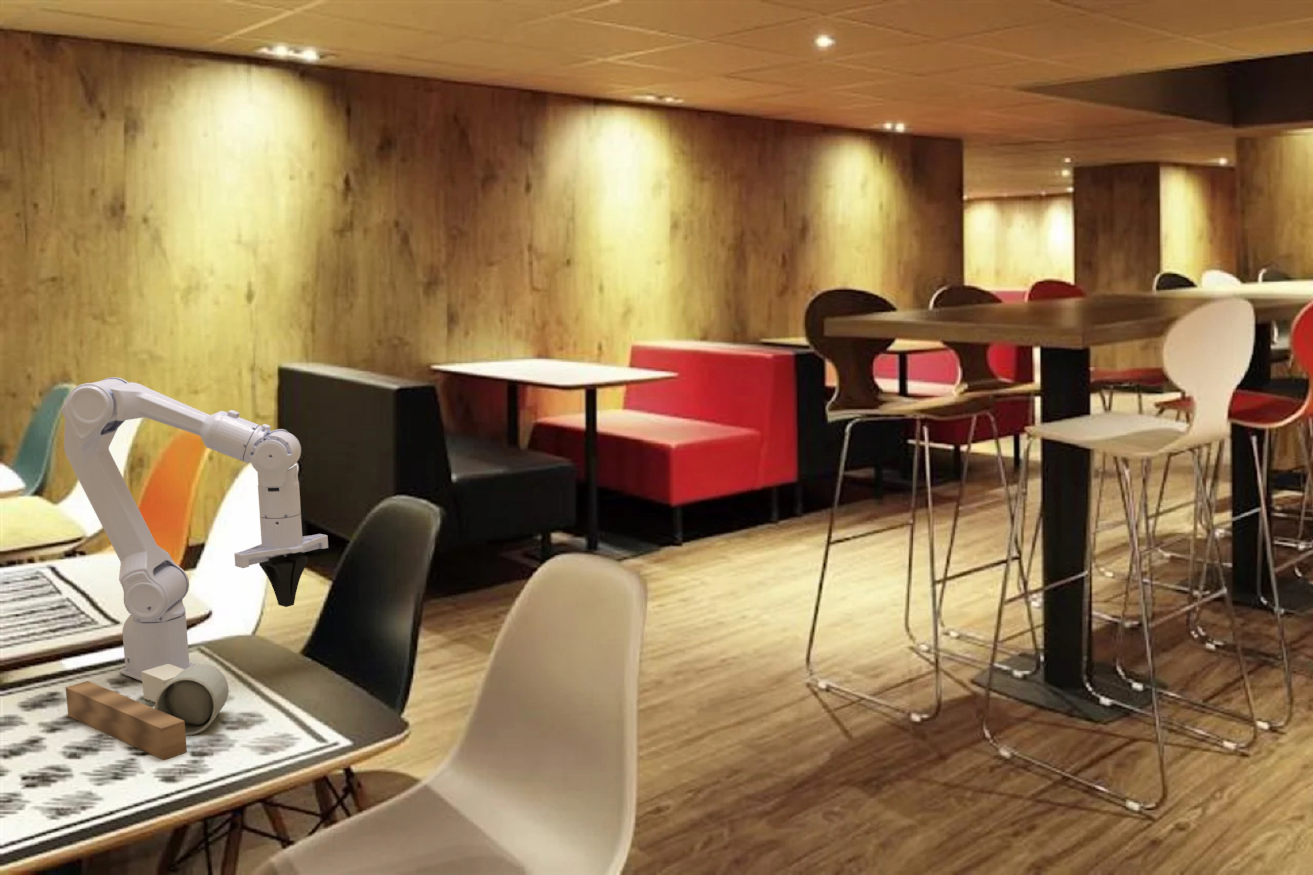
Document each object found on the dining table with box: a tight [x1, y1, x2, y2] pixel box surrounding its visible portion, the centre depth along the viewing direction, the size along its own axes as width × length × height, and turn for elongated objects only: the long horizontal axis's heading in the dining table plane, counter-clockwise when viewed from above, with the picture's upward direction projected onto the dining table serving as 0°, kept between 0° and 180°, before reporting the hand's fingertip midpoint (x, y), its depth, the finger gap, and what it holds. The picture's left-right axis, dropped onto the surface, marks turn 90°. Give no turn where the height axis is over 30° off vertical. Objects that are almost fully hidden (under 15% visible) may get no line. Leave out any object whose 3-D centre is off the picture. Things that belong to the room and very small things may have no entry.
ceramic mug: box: [153, 664, 229, 737], centre depth 153 cm, size 11×8×8 cm
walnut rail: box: [65, 680, 188, 761], centre depth 150 cm, size 24×3×4 cm, turn 52°
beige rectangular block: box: [141, 664, 185, 703], centre depth 162 cm, size 6×4×4 cm, turn 52°
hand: (286, 604), depth 172 cm, fingers closed
